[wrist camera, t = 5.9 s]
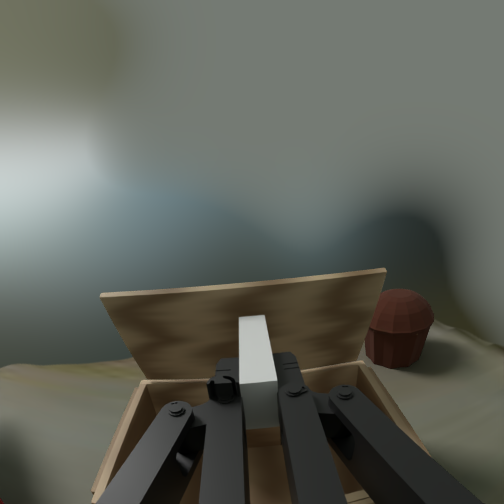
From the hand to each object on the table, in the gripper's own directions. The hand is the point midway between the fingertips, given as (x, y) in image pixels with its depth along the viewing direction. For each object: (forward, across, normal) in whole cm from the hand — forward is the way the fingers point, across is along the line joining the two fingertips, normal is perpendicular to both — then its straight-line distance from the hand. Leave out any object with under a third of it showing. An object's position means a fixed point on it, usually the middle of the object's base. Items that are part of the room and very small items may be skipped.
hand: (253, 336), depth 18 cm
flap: (+6, 0, -7) cm, 9 cm away
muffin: (+20, +21, -17) cm, 34 cm away
